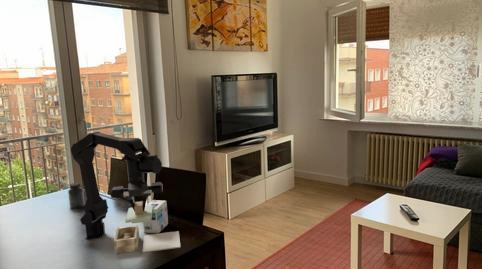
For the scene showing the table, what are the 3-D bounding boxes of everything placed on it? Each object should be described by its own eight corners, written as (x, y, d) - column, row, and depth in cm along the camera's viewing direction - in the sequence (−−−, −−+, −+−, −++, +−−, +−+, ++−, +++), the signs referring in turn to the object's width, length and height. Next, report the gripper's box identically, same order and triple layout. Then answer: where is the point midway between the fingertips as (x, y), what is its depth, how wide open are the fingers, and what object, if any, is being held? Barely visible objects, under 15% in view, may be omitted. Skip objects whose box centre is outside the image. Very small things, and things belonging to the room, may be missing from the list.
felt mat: (142, 252, 137) (142, 251, 136) (144, 236, 150) (144, 235, 150) (180, 247, 139) (180, 246, 139) (178, 232, 153) (178, 231, 153)
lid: (125, 226, 134) (124, 211, 133) (129, 213, 147) (128, 199, 146) (151, 222, 136) (150, 208, 135) (152, 210, 149) (151, 196, 148)
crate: (115, 253, 136) (113, 241, 136) (118, 239, 148) (117, 227, 147) (137, 250, 138) (136, 238, 137) (139, 236, 150) (138, 225, 149)
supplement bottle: (77, 203, 192) (74, 181, 190) (87, 204, 189) (85, 182, 187) (67, 208, 185) (64, 185, 183) (77, 209, 183) (75, 186, 181)
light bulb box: (158, 233, 152) (156, 209, 150) (143, 233, 153) (141, 208, 151) (168, 223, 162) (167, 200, 160) (154, 222, 164) (152, 199, 162)
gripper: (106, 180, 129) (111, 222, 132) (160, 174, 132) (164, 215, 135) (110, 172, 140) (115, 211, 142) (160, 167, 143) (164, 205, 146)
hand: (139, 211), depth 141 cm, fingers closed on lid, 3 cm apart
